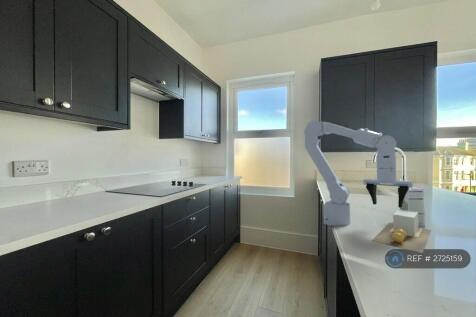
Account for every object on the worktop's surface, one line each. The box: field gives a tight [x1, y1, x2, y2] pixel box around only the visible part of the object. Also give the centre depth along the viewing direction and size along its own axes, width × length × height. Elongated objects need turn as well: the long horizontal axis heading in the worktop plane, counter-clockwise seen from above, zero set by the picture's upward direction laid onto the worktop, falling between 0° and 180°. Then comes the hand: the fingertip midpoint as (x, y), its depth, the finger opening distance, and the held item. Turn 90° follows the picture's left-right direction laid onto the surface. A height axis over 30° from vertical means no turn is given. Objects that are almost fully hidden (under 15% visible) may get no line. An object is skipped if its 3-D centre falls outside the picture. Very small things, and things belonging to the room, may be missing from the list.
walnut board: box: [371, 222, 432, 254], centre depth 68 cm, size 12×24×1 cm, turn 132°
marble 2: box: [392, 232, 404, 243], centre depth 63 cm, size 3×3×3 cm
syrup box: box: [399, 186, 426, 228], centre depth 81 cm, size 6×6×14 cm
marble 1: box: [395, 229, 406, 238], centre depth 65 cm, size 3×3×3 cm
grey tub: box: [392, 208, 419, 236], centre depth 72 cm, size 6×9×6 cm, turn 132°
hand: (387, 205), depth 74 cm, fingers open, 7 cm apart
